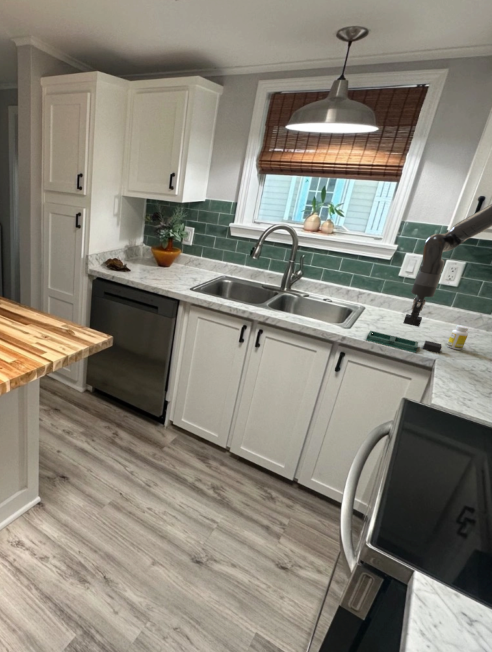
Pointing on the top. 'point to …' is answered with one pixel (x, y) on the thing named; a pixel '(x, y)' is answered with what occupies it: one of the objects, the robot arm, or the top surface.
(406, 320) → the near pad
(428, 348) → the far pad
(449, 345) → the supplement bottle
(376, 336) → the base board
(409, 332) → the top surface
